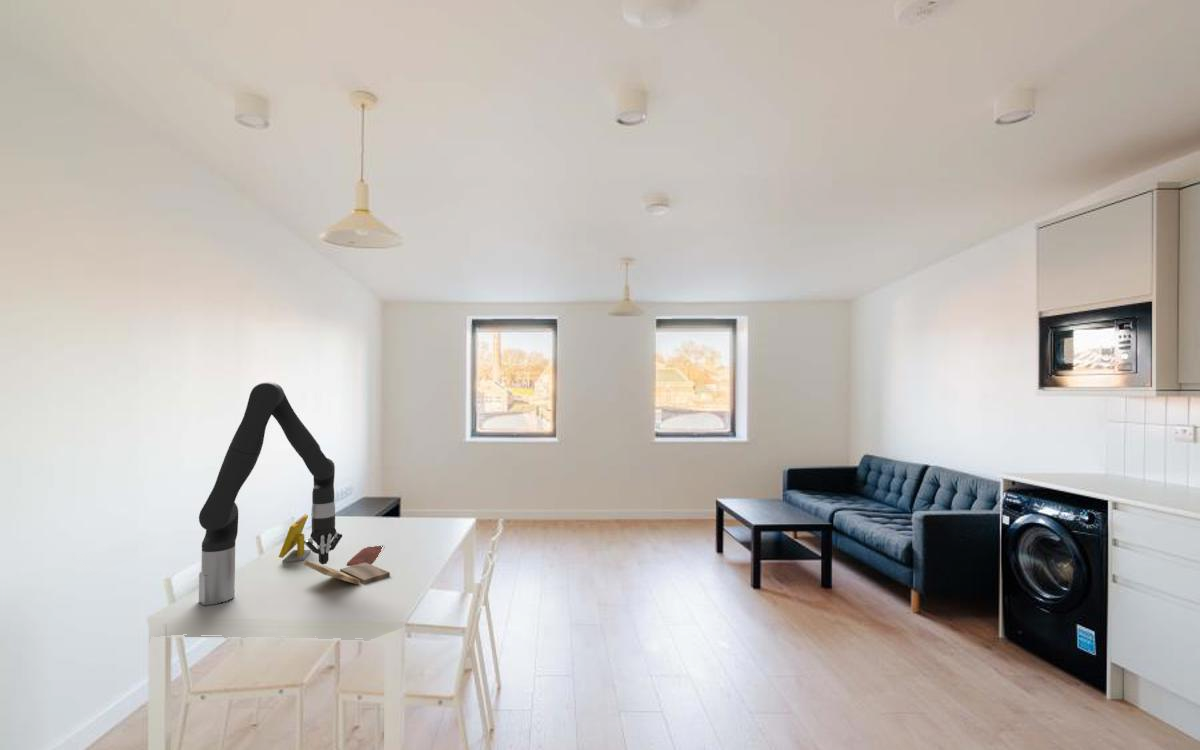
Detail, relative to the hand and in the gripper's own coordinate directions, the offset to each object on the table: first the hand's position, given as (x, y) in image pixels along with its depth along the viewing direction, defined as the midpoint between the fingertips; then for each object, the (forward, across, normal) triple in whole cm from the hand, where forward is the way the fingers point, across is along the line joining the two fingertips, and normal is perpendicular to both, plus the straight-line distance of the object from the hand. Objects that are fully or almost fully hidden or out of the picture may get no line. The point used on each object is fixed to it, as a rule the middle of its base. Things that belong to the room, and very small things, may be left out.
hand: (323, 563), depth 191 cm
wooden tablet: (+9, +28, +22) cm, 37 cm away
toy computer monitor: (+8, +8, +43) cm, 44 cm away
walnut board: (+9, +15, 0) cm, 17 cm away
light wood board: (+5, +3, 0) cm, 5 cm away
